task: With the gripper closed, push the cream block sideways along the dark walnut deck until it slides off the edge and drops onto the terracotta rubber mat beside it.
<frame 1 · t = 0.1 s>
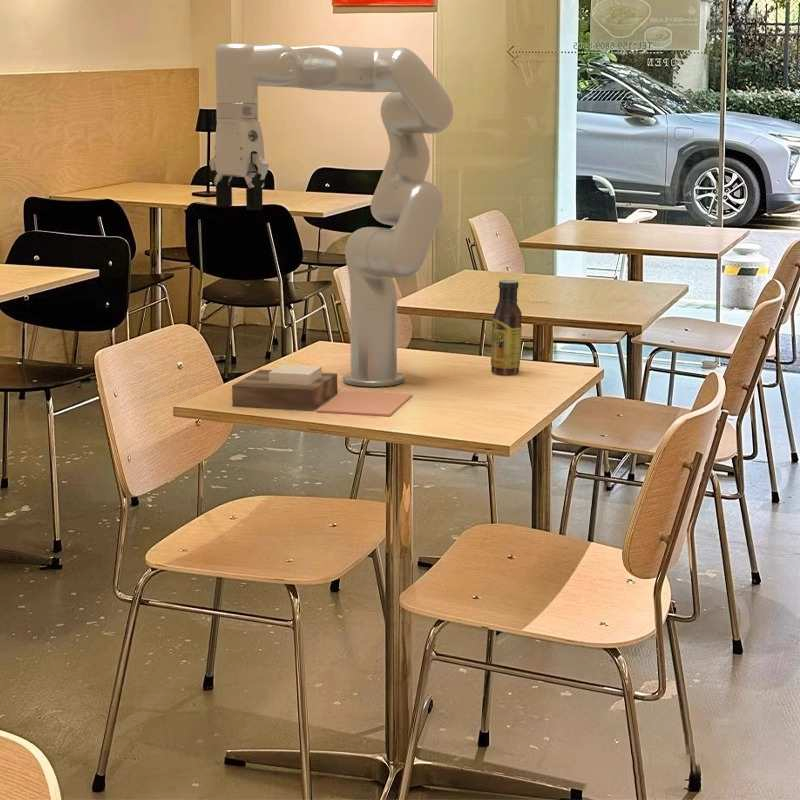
hand: (239, 208, 252), 37 cm above the table, tool pointing down, fingers open, 9 cm apart
sauce bottle: (505, 374, 289), on the table
deck: (286, 399, 264), on the table
mat: (365, 404, 260), on the table
cream block: (295, 379, 262), point 4 cm above the table, touching deck
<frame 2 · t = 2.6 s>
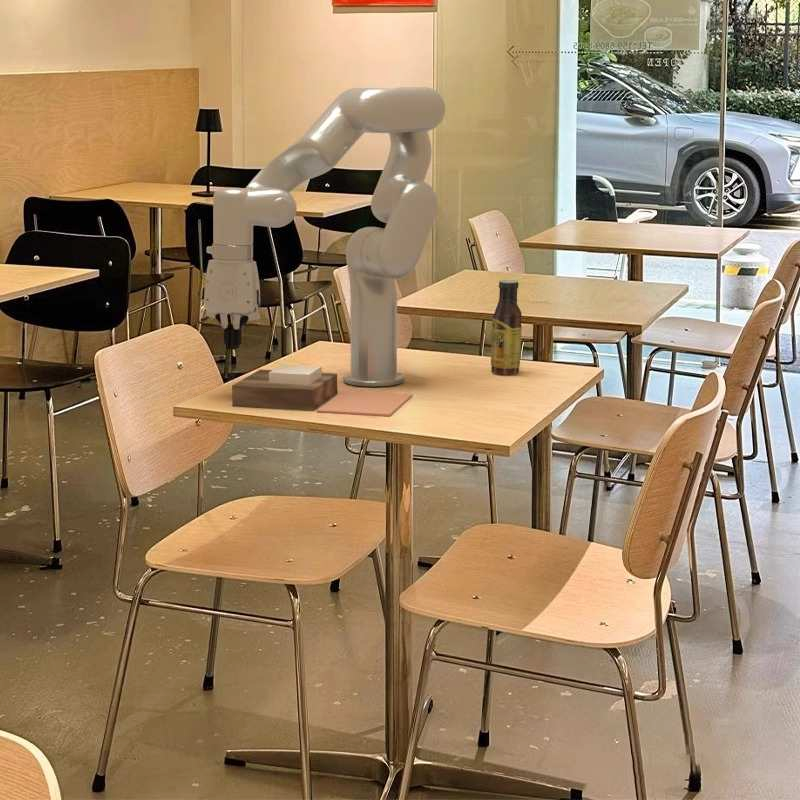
hand: (232, 348, 264), 10 cm above the table, tool pointing down, fingers closed
nothing on the table moved.
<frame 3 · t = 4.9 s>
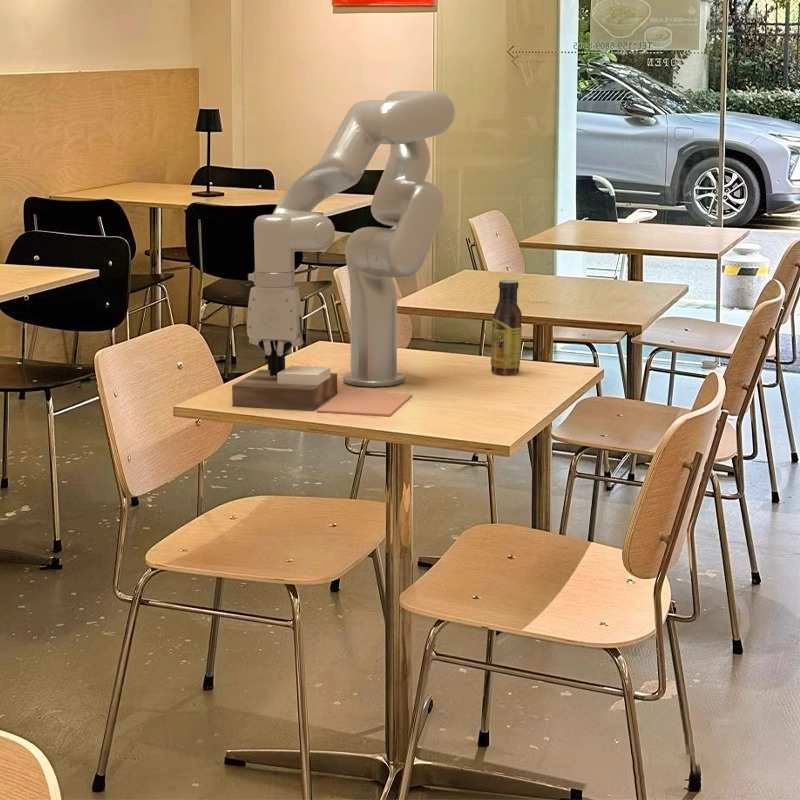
hand: (276, 374, 263), 5 cm above the table, tool pointing down, fingers closed
cream block: (304, 380, 262), point 4 cm above the table, touching deck
everything else where it was.
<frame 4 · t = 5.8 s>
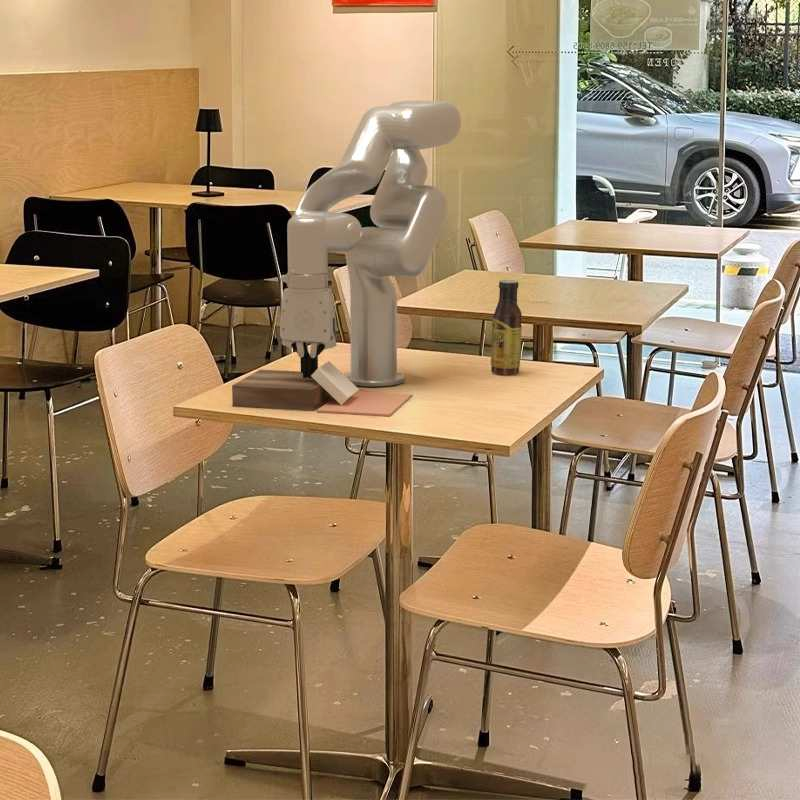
hand: (309, 376, 262), 5 cm above the table, tool pointing down, fingers closed
cream block: (331, 386, 261), point 3 cm above the table, tilted 42°, touching gripper
everything else where it was.
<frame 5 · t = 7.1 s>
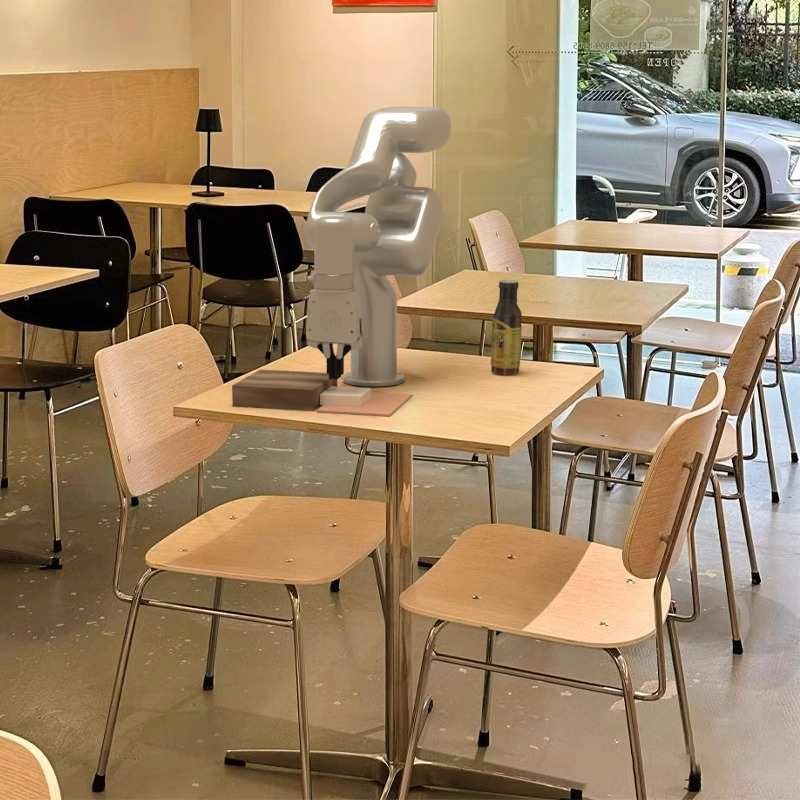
hand: (335, 377, 260), 5 cm above the table, tool pointing down, fingers closed
cream block: (345, 401, 260), resting on mat
everything else where it was.
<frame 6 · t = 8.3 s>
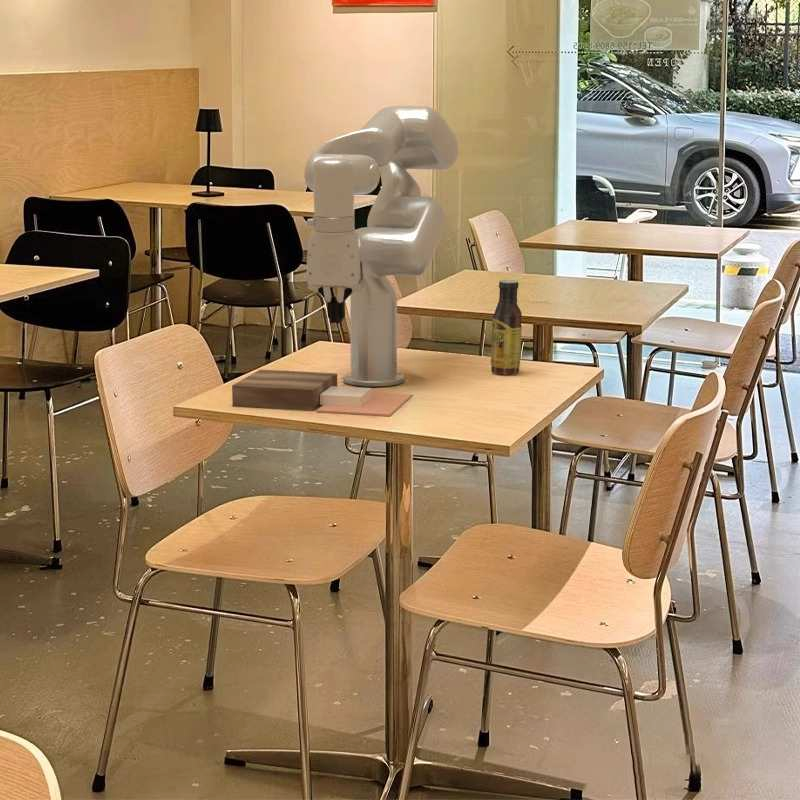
hand: (336, 321, 259), 16 cm above the table, tool pointing down, fingers closed
nothing on the table moved.
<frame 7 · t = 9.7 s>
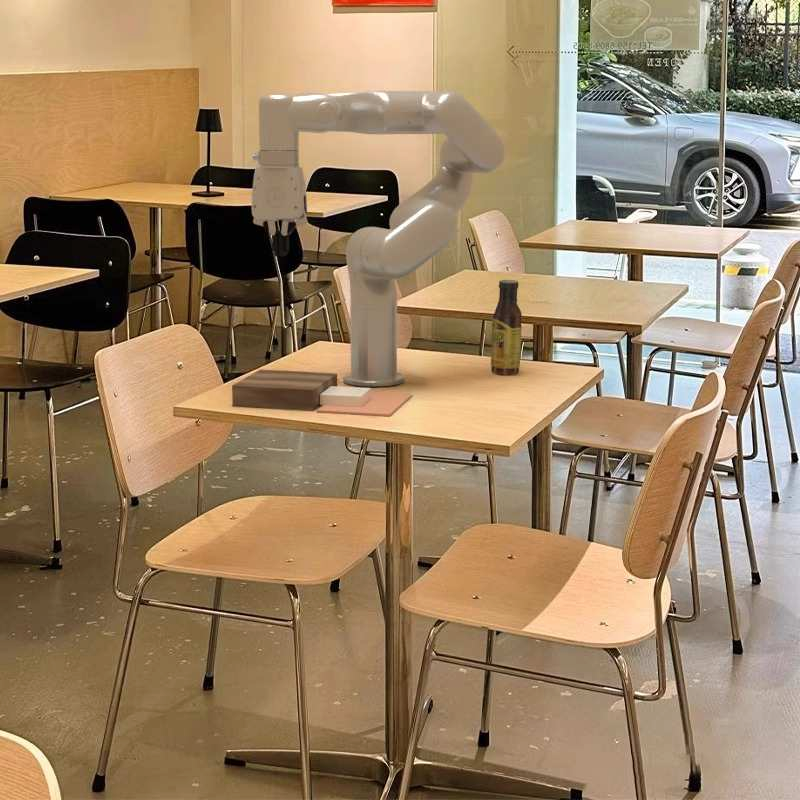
hand: (280, 255, 265), 27 cm above the table, tool pointing down, fingers closed
nothing on the table moved.
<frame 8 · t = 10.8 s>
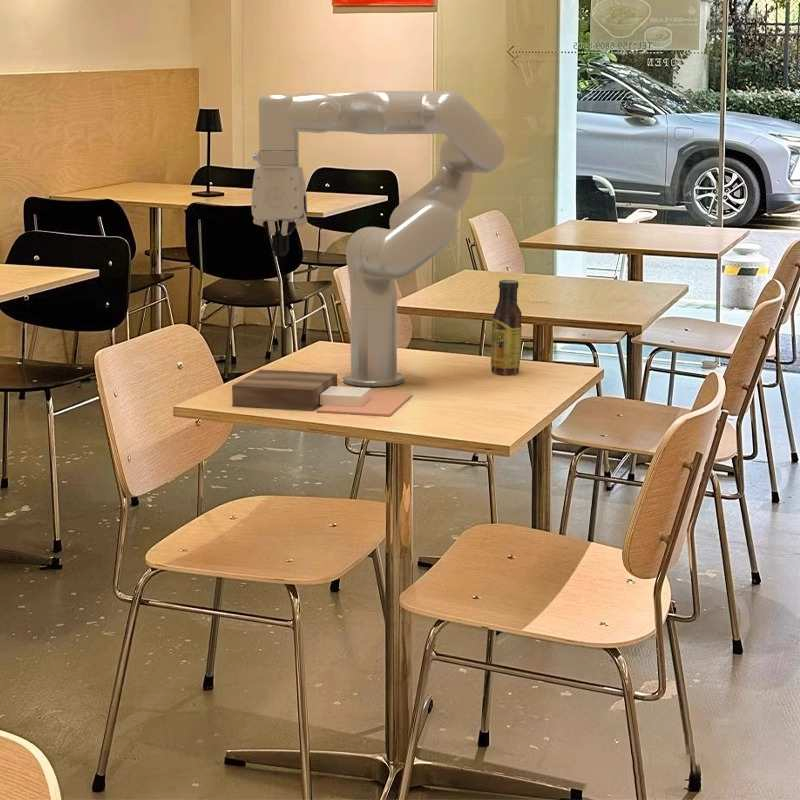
hand: (280, 255, 265), 27 cm above the table, tool pointing down, fingers closed
nothing on the table moved.
at the end: cream block inside the target area (3.8 cm from its centre), resting on mat; cream block resting on mat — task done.
